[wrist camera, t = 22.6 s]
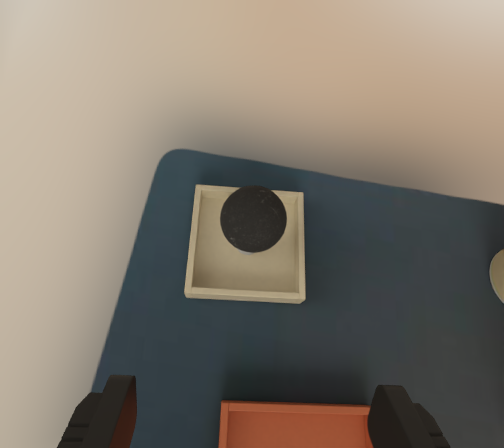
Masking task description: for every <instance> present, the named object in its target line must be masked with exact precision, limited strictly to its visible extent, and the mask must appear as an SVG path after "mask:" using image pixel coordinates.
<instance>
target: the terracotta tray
mask: <svg viewBox="0 0 504 448" xmlns="http://www.w3.org/2000/svg"><path fill="white" fill-rule="evenodd" d="M370 407H371V406H368V405H351V404H321V403H290V402H259V401H228V400H222V401H221V414H220V431H219V447H218V448H373V445H372V443H371V440H370V437H369V434H368V428H367V418H368V414H369V411H370Z"/></svg>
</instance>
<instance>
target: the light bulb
mask: <svg viewBox="0 0 504 448" xmlns="http://www.w3.org/2000/svg"><path fill="white" fill-rule="evenodd" d="M220 225H221V229H222V232H223V234H224V236H225V238H226V239H227V240H228V242H229V243H230V244H232V245H233V246H234V247H235V248H237V249H238V251H239V252H240V253H242V254H244V255H251V254H254V253H257V252H262V251H265V250H268V249H270V248H271V247H273V246H274V245H275V244H276V243H277V242H278V241H279V240H280V239H281V237H282V236H283V234H284V231H285V228H286V225H287V213H286V210H285V206H284V204H283V202H282V201H281V199H280V198H279V197H278V196H277V195H276V194H275V193H274V192H273V191H271V190H269V189H267V188H264V187H262V186H245V187H242V188H239V189H238V190H236V191H235V192H233V193H232V194H231V195H230V196H229V197H228V198H227V199H226V201H225V202H224V204H223V207H222V209H221V214H220Z"/></svg>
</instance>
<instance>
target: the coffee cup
mask: <svg viewBox="0 0 504 448" xmlns="http://www.w3.org/2000/svg"><path fill="white" fill-rule="evenodd" d="M489 274H490V281H491V284H492V287H493V289H494V291H495V293H496V294H497V296H498V297H499V299H500V300H501V301H502V302H503V303H504V249H503V250H501V251H499V252H498V253H497V254H496V255H495V256H494V258H493V259H492V261H491V264H490V270H489Z"/></svg>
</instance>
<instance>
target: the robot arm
mask: <svg viewBox="0 0 504 448" xmlns="http://www.w3.org/2000/svg"><path fill="white" fill-rule="evenodd" d="M136 416H137V398H136V378H135V376H128V375H111V376H110V377H109V378H108V381H107V383H106V386H105V388H104V390H103V393H89V394H88V395H87V397H85V398H84V399H83V400H82V402H81V403H80V404H79V405H78V406H77V407H76V409H75V411H74V413H73V415H72V417H71V419H70V421H69V424H68V427H67V428H66V430H65V432H64V434H63V436H62V440H61V441H60V443H59V445H58V447H57V448H129V447H130V443H131V440H132V436H133V432H134V428H135V423H136ZM367 428H368V434H369V437H370V440H371V443H372V445H373V448H450V445H449V444H448V442H447V440H446V439H445V437H443V435H442V434H443V433H442V432H441V430H440V428H439V426H438V425H437V423H436V421H435V420H434V418H433V417H432V416H431V415H430V414H429V413H428V412H427V411H426V410H425V409H424V408H423V407H422V406H421V405H420V404H419V403H412V401H411V399H410V397H409V396H408V394H407V392H406V390H405V389H404V388H403V387H402V386H396V385H378V386H377V388H376V391H375V394H374V397H373V401H372V404H371V407H370V411H369V414H368V418H367Z"/></svg>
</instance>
